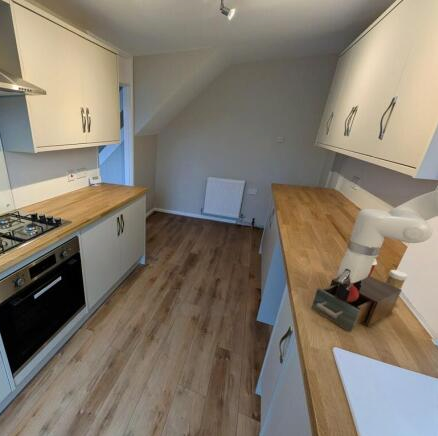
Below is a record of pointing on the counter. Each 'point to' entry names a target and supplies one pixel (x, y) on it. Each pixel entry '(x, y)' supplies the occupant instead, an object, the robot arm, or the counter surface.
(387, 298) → the cabinet
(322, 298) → the drawer
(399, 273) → the sprinkles bottle
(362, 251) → the robot arm
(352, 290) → the onion
